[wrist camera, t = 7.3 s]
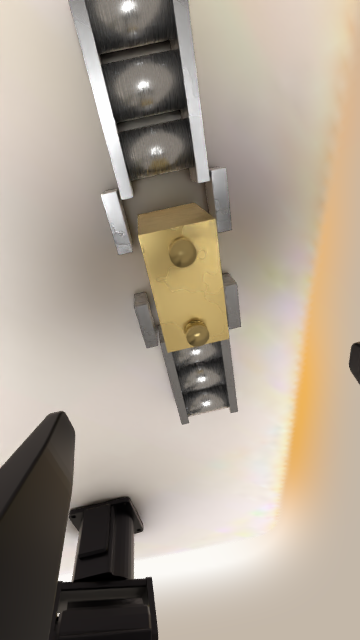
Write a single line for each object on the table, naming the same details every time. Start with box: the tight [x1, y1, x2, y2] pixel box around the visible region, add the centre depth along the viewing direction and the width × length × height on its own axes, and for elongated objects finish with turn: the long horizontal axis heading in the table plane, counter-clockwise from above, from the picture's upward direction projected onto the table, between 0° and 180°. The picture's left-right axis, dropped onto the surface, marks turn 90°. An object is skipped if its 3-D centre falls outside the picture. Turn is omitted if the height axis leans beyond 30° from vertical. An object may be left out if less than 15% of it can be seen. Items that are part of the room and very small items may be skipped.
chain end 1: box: [68, 0, 232, 255], centre depth 15 cm, size 11×7×2 cm, turn 11°
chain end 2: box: [134, 273, 241, 425], centre depth 22 cm, size 11×7×2 cm, turn 11°
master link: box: [138, 203, 229, 353], centre depth 17 cm, size 6×4×6 cm, turn 11°
